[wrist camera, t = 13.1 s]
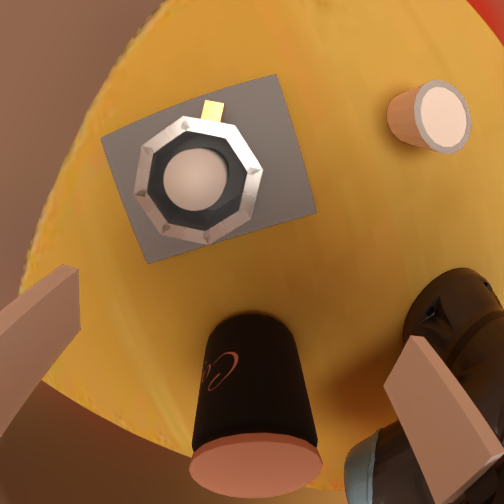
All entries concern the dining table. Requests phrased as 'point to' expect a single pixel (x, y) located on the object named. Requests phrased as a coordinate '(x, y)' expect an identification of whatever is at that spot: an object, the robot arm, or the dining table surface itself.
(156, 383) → the dining table surface
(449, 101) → the tan cup
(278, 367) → the coffee jar
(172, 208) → the mug
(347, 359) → the dining table surface
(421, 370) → the robot arm
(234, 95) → the grey plate with knob
